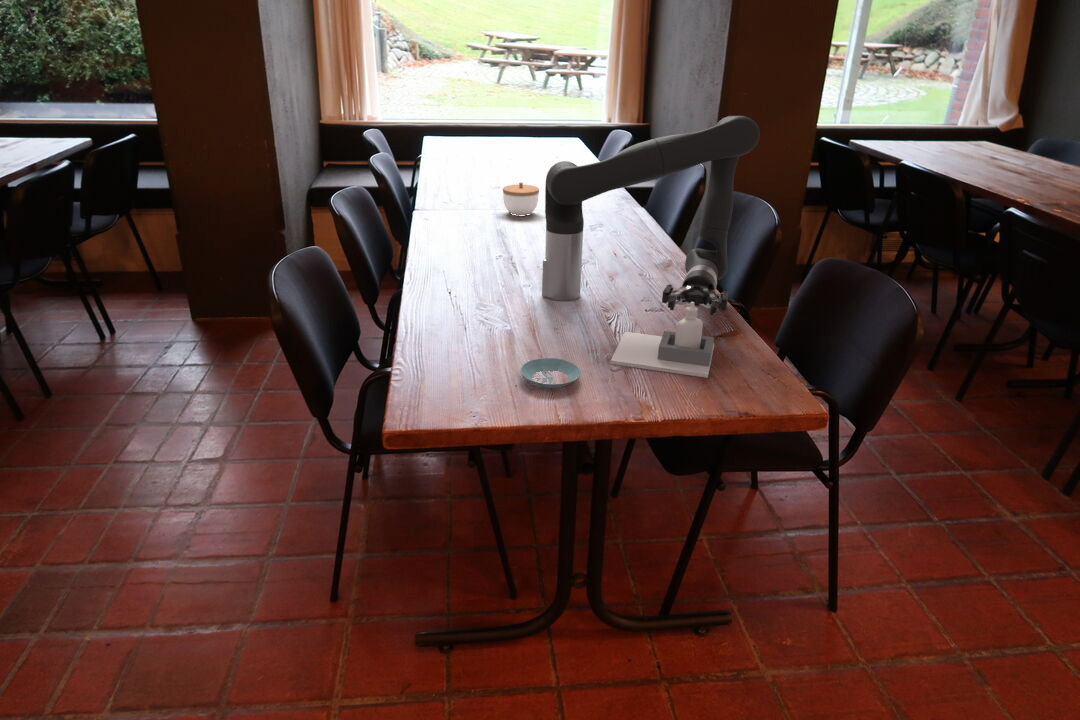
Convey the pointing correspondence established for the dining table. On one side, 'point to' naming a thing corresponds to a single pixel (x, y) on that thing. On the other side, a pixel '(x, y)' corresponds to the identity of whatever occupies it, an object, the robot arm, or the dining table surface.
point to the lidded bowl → (520, 198)
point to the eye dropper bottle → (689, 329)
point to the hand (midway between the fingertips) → (691, 308)
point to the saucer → (551, 366)
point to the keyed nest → (664, 354)
